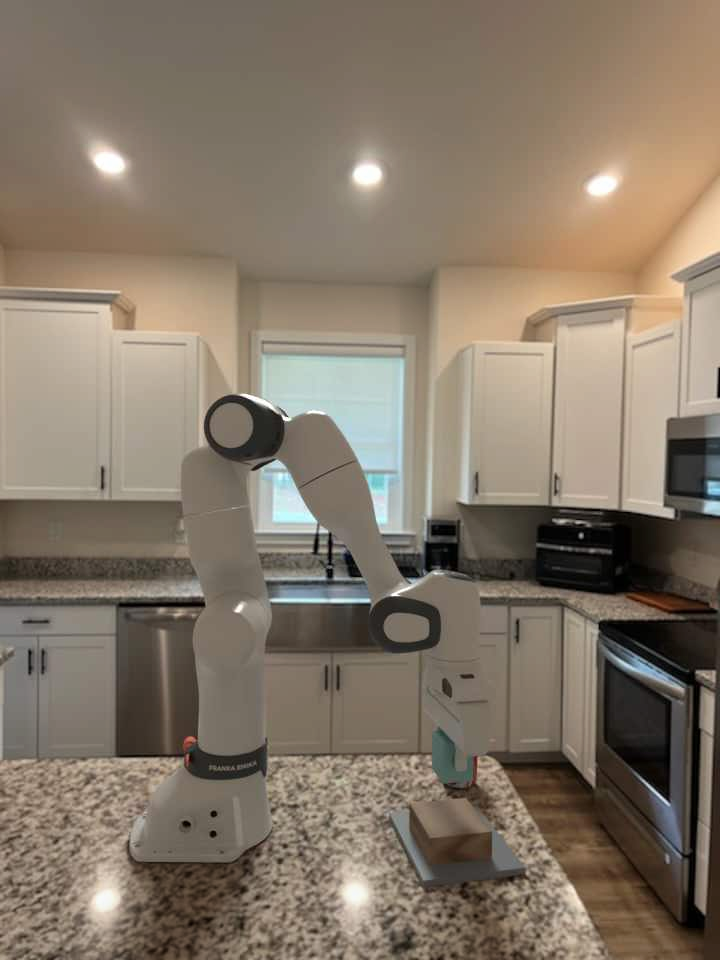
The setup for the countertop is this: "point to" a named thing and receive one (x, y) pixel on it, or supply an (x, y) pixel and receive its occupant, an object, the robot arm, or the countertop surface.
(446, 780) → the teal block
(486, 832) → the walnut pedestal
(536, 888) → the countertop surface
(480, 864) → the slate board
